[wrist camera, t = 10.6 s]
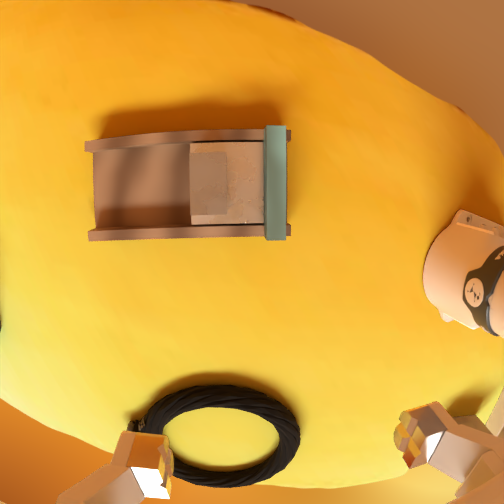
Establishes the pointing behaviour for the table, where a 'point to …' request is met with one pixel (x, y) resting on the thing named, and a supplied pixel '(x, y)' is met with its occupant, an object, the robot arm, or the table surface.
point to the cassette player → (472, 423)
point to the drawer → (177, 185)
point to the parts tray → (497, 418)
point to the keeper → (226, 182)
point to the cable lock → (226, 399)
